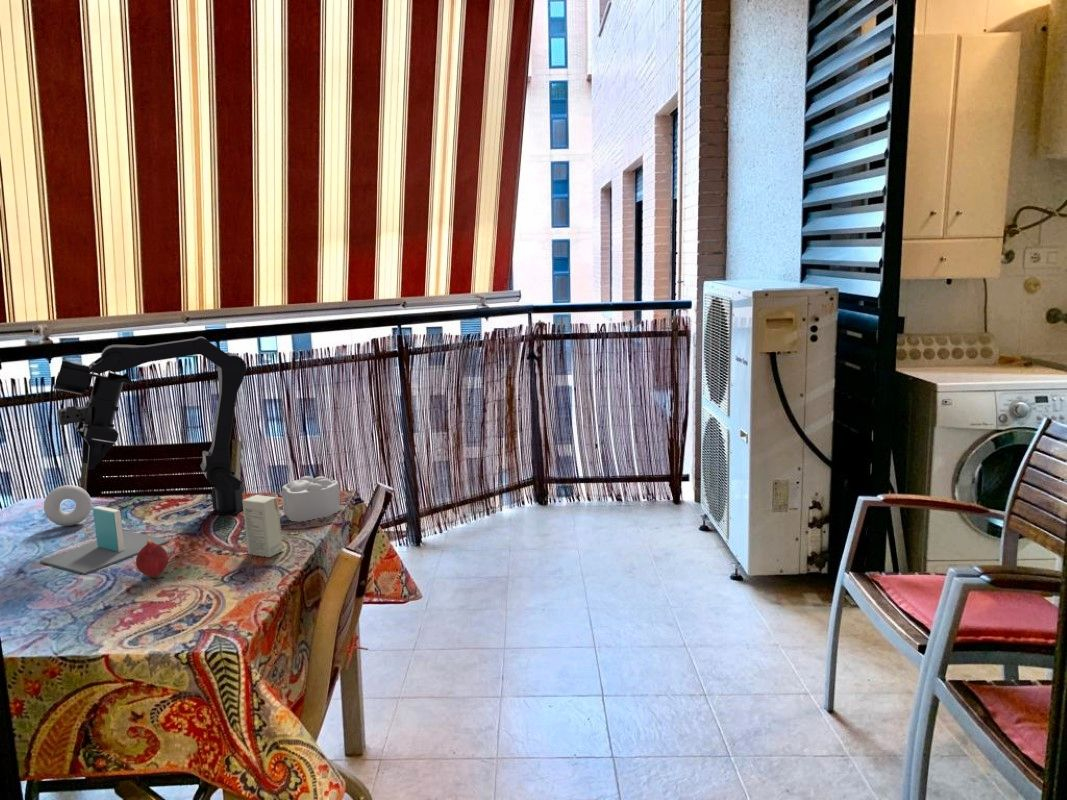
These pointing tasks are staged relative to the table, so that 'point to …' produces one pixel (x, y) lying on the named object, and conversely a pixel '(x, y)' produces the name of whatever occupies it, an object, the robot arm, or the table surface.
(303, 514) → the lumpy-topped squat cylinder
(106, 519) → the tile
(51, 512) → the donut
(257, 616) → the table surface
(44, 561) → the mat
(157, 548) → the onion
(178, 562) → the table surface
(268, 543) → the skincare box
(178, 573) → the table surface
